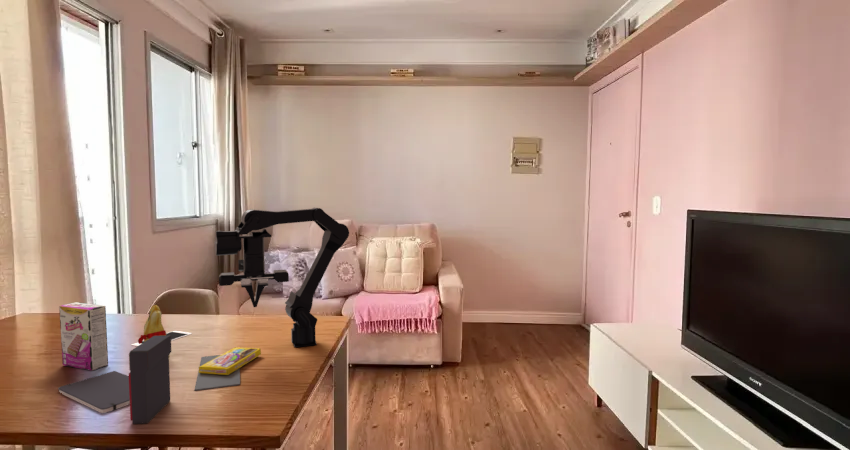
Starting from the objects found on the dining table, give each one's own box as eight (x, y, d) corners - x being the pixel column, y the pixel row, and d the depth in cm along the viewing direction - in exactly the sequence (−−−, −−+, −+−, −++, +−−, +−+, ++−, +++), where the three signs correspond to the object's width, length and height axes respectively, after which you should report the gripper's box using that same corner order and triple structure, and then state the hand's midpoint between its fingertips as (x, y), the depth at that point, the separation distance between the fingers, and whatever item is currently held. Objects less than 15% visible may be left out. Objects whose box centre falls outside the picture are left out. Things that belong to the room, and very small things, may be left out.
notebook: (162, 395, 115) (114, 376, 126) (161, 388, 114) (114, 370, 126) (102, 416, 104) (56, 394, 115) (102, 409, 104) (56, 387, 115)
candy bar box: (60, 366, 131) (57, 305, 130) (79, 360, 136) (76, 301, 135) (91, 371, 128) (88, 309, 126) (109, 365, 132) (106, 304, 131)
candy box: (227, 367, 124) (197, 366, 125) (228, 375, 124) (198, 375, 125) (260, 347, 139) (234, 346, 141) (261, 354, 140) (234, 354, 141)
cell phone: (130, 346, 149) (130, 344, 149) (174, 332, 164) (174, 330, 164) (149, 349, 146) (149, 347, 146) (192, 334, 161) (192, 333, 161)
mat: (239, 353, 142) (239, 352, 142) (240, 384, 119) (240, 383, 119) (201, 357, 138) (201, 356, 138) (194, 390, 116) (194, 389, 116)
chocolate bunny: (159, 351, 144) (158, 300, 143) (173, 360, 136) (171, 306, 135) (133, 356, 139) (131, 304, 138) (145, 366, 131) (143, 311, 130)
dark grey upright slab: (153, 401, 110) (150, 335, 109) (173, 400, 110) (171, 334, 109) (128, 424, 99) (124, 351, 98) (150, 424, 99) (147, 351, 98)
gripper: (285, 248, 153) (285, 298, 154) (219, 251, 146) (221, 303, 147) (288, 253, 142) (289, 306, 144) (218, 256, 136) (219, 312, 137)
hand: (255, 306), depth 143 cm, fingers closed
